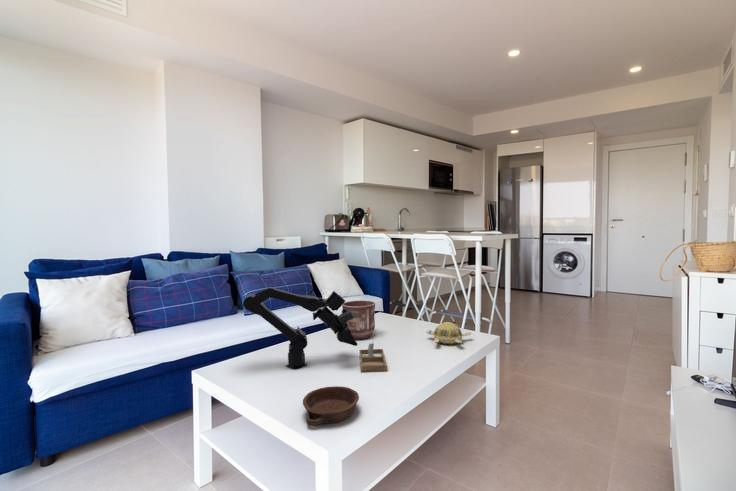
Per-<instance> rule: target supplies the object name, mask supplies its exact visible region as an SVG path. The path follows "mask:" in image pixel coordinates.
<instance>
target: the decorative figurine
mask: <svg viewBox="0 0 736 491" xmlns="http://www.w3.org/2000/svg"><path fill="white" fill-rule="evenodd" d="M425 333H426V334H427V335H430V336H433V338H434V340H433V343H435V344H439V343H440V344H444V345H455V344H460V343H463V341H462V339H463V337H466V336H470V335H472V332H470V331H469V332H465V333H462V330H461V328H460V327H459V326H458V325H457V324H456V323H453V322H450V321H445V322H441V323H440V324H438V325H437V326H436V327H435V329H434V331H433V330H430V329H428V330H427V331H425Z"/></svg>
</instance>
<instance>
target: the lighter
mask: <svg viewBox="0 0 736 491" xmlns="http://www.w3.org/2000/svg"><path fill="white" fill-rule="evenodd" d="M374 343H375V342H374V341H373V340H372V341H369V342H368V346H367V349H368V356H369V357H373V349H375V348H374V346H375V345H374Z"/></svg>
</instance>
